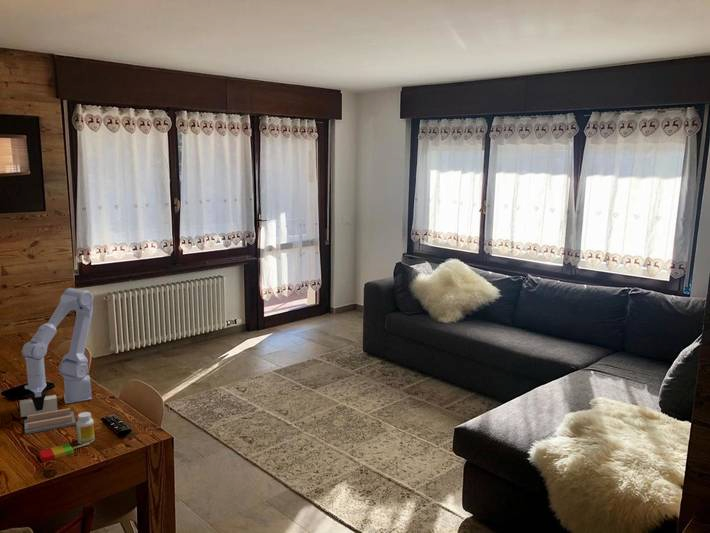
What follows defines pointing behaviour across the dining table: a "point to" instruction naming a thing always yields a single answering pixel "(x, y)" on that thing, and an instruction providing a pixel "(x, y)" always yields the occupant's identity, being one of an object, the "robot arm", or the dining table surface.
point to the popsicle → (58, 451)
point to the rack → (49, 421)
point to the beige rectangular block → (29, 408)
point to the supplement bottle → (85, 428)
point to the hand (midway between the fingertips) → (39, 407)
